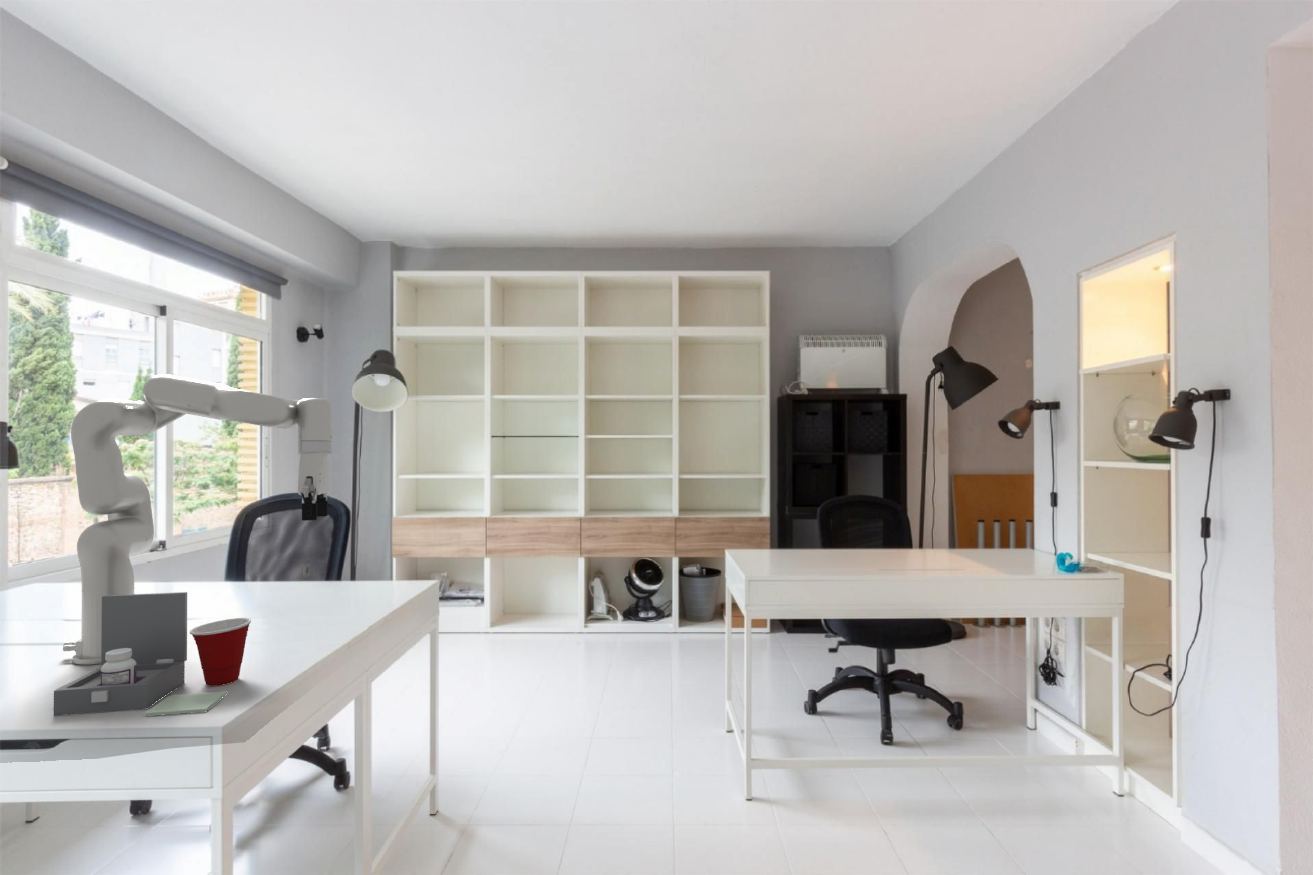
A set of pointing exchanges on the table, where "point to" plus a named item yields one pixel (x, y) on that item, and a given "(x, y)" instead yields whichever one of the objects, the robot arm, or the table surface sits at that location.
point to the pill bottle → (119, 668)
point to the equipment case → (134, 654)
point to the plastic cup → (221, 649)
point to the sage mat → (186, 703)
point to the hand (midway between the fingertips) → (315, 518)
